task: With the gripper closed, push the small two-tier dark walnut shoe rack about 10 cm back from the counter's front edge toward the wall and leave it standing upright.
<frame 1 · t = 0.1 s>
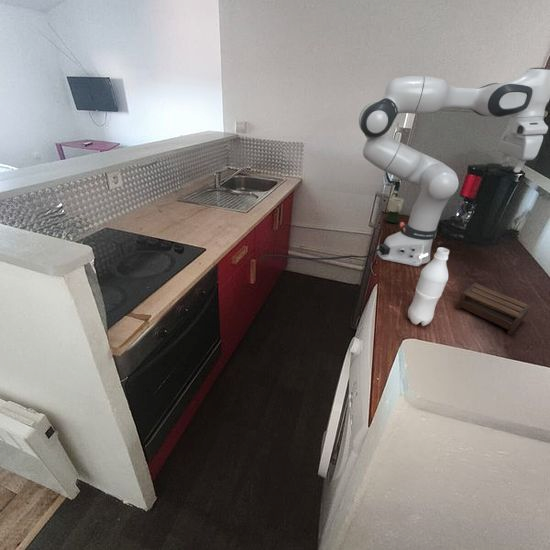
hand: (509, 169, 105), 39 cm above the countertop, tool pointing down, fingers open, 8 cm apart
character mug: (391, 222, 165), on the countertop
rack: (487, 315, 96), on the countertop
water bottle: (417, 321, 93), on the countertop
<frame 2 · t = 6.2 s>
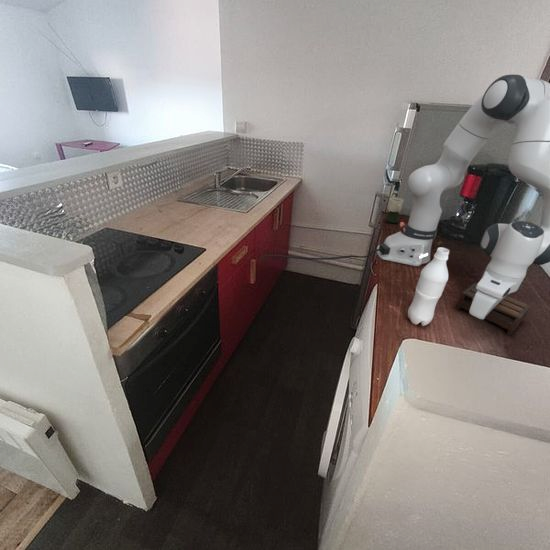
hand: (482, 316, 90), 3 cm above the countertop, tool pointing down, fingers closed
rack: (487, 315, 96), on the countertop, touching gripper
everything else where it was.
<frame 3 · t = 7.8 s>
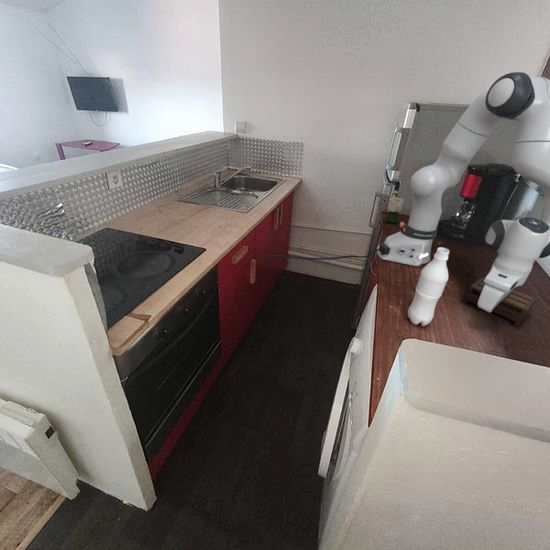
hand: (489, 310, 94), 3 cm above the countertop, tool pointing down, fingers closed
rack: (494, 308, 99), on the countertop, touching gripper
everything else where it was.
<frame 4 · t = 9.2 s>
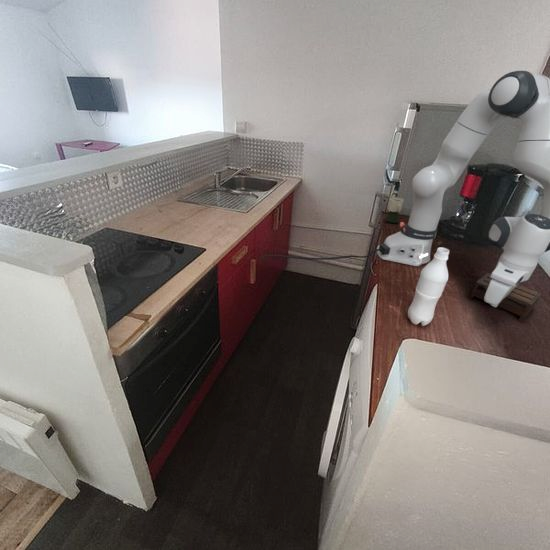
hand: (494, 304, 96), 3 cm above the countertop, tool pointing down, fingers closed
rack: (499, 303, 101), on the countertop, touching gripper
everything else where it was.
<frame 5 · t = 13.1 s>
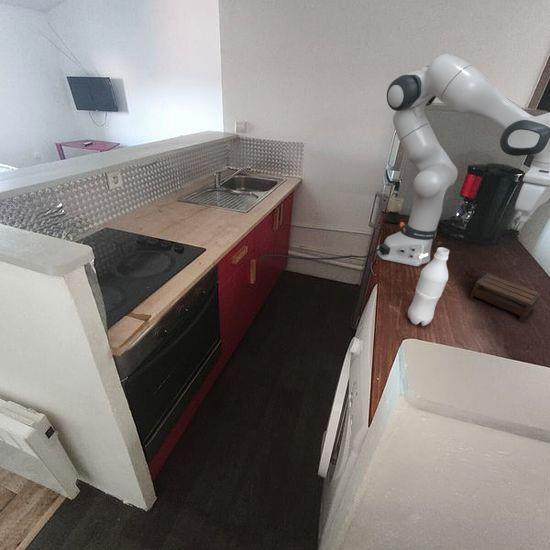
hand: (524, 220, 88), 29 cm above the countertop, tool pointing down, fingers closed
rack: (499, 303, 101), on the countertop
everything else where it was.
at the end: rack inside the target area (0.4 cm from its centre), on the countertop; rack moved 10.7 cm from its start; rack tilted 0° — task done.
